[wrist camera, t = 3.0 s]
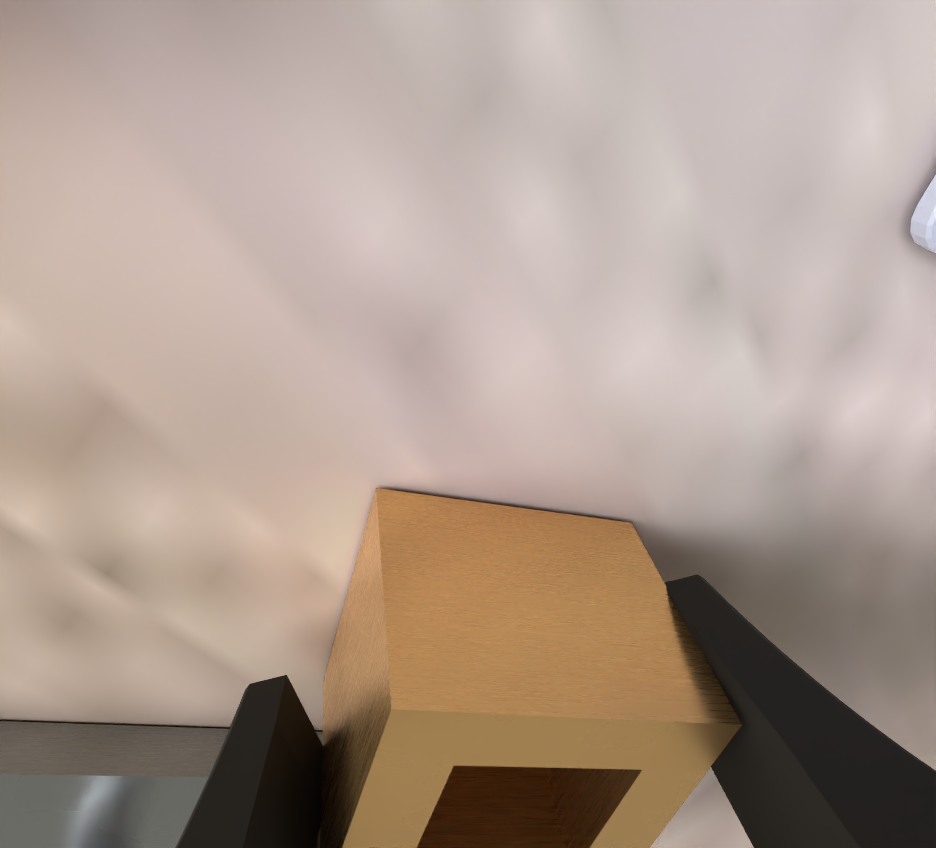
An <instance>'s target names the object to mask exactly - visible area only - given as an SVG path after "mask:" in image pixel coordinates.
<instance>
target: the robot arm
mask: <svg viewBox="0 0 936 848" xmlns="http://www.w3.org/2000/svg"><path fill="white" fill-rule="evenodd" d="M910 233H911V235H912V238H913V240H914V242H915V243H916V244H918V245H919V246H921V247H922V248H924V249H926V250H929V251H931V252H933V253H936V175H935V176H934V178H933V180H932V181H931V183H930V185H929V186H928V188H927V190H926V191H925V193H924V195H923V196H922V198H921V200H920V201H919V203H918V205H917V207H916V209H915V212H914V214H913V216H912V219H911V230H910ZM665 585H666V587H667V588H666V590H667V592H668V594H669V595H670V597H671V599H672V601H673V603H674V605H675V606H676V608H677V610H678V612H679V614H680V616H681V617H682V619H683V621H684V623H685V625H686V627H687V628H688V630H689V632H690V633H691V635H692V636H693V638H694V640H695V641H696V643H697V644H698V646H699V647H700V649H701V651H702V653H703V655H704V656H705V658H706V660H707V662H708V664H709V666H710V667H711V669H712V671H713V673H714V675H715V677H716V678H717V680H718V682H719V684H720V686H721V688H722V689H723V691H724V693H725V695H726V697H727V698H728V700H729V702H730V704H731V706H732V708H733V709H734V711H735V713H736V715H737V717H738V719H739V720H740V722H741V724H742V726H741V727H740V728H739V730H738V731H737V732H736V734H735V735H734V736H733V738H732V739H731V740H730V742H729V743H728V744H727V746H726V747H725V748H724V750H723V751H722V752H721V754H720V755H719V756H718V757H717V759H716V760H715V761H714V763H713V764H712V765H711V768H712V770H713V771H714V773H715V775H716V777H717V779H718V781H719V783H720V785H721V787H722V788H723V790H724V792H725V794H726V796H727V798H728V800H729V802H730V803H731V805H732V807H733V809H734V811H735V813H736V815H737V817H738V818H739V820H740V822H741V824H742V826H743V828H744V830H745V832H746V833H747V835H748V837H749V839H750V841H751V843H752V845H753V847H754V848H936V771H935V770H934V769H932V768H931V767H930V766H928V765H927V764H925V763H924V762H922V761H921V760H919V759H918V758H917V757H915V756H914V755H912V754H911V753H909V752H908V751H907V750H905V749H904V748H902V747H901V746H900V745H898V744H897V743H896V742H894V741H893V740H891V739H890V738H889V737H887V736H886V735H885V734H883V733H882V732H881V731H879V730H878V729H877V728H875V727H874V726H873V725H871V724H870V723H869V722H867V721H866V720H865V719H864V718H862V717H861V716H860V715H858V714H857V713H856V712H855V711H853V710H852V709H851V708H849V707H848V706H847V705H845V704H844V703H843V702H842V701H840V700H839V699H838V698H837V697H835V696H834V695H833V694H832V693H830V692H829V691H828V690H827V689H826V688H824V687H823V686H822V685H821V684H819V683H818V682H817V681H816V680H815V679H813V678H812V677H811V676H810V675H809V674H808V673H806V672H805V671H804V670H803V669H802V668H800V667H799V666H798V665H797V664H796V663H795V662H793V661H792V660H791V659H790V658H789V657H788V656H786V655H785V654H784V653H783V652H782V651H781V650H779V649H778V648H777V647H776V646H775V645H774V644H773V643H771V642H770V641H769V640H768V639H767V638H766V637H765V636H764V635H763V634H762V633H760V632H759V631H758V630H757V629H756V628H755V627H754V626H753V625H752V624H751V623H749V622H748V621H747V620H746V619H745V618H744V617H743V616H742V615H741V614H740V613H739V612H738V611H737V610H736V609H735V608H733V607H732V606H731V605H730V604H729V603H728V602H727V601H726V600H725V599H724V598H723V597H722V596H721V595H720V594H719V593H718V592H717V591H716V590H715V589H714V588H713V587H712V586H711V585H710V584H709V583H708V582H707V581H706V580H705V579H704V578H702V577H701V576H699V575H694V576H690V577H686V578H682V579H678V580H674V581H670V582H665ZM322 765H323V745H322V743H321V741H320V739H319V737H318V735H317V733H316V731H315V729H314V727H313V725H312V723H311V722H310V720H309V718H308V716H307V714H306V712H305V710H304V708H303V706H302V704H301V702H300V700H299V698H298V696H297V694H296V692H295V690H294V688H293V686H292V684H291V682H290V680H289V678H288V677H287V675H285V676H280V677H276V678H272V679H268V680H264V681H260V682H256V683H252V684H249V686H248V687H247V688H246V690H245V692H244V694H243V697H242V699H241V702H240V704H239V707H238V709H237V712H236V714H235V717H234V719H233V721H232V724H231V726H230V729H229V731H228V734H227V736H226V738H225V741H224V743H223V745H222V748H221V750H220V752H219V755H218V757H217V759H216V761H215V764H214V766H213V768H212V771H211V773H210V775H209V777H208V780H207V782H206V784H205V786H204V788H203V790H202V793H201V795H200V797H199V799H198V801H197V803H196V805H195V808H194V810H193V812H192V814H191V816H190V818H189V820H188V823H187V825H186V827H185V829H184V831H183V833H182V835H181V837H180V839H179V841H178V843H177V845H176V847H175V848H320V823H321V805H322Z"/></svg>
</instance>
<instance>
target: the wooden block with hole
mask: <svg viewBox="0 0 936 848" xmlns="http://www.w3.org/2000/svg"><path fill="white" fill-rule="evenodd" d="M666 588H667V587H666V585H665V583H664V581H663V580H662V578H661V576H660V574H659V572H658V571H657V569H656V567H655V565H654V563H653V561H652V560H651V558H650V556H649V554H648V552H647V550H646V549H645V547H644V545H643V543H642V541H641V539H640V538H639V536H638V534H637V532H636V530H635V528H634V527H633V525H632V523H629V522H621V521H614V520H607V519H599V518H592V517H585V516H577V515H570V514H562V513H555V512H548V511H540V510H533V509H526V508H518V507H511V506H503V505H496V504H489V503H481V502H474V501H467V500H459V499H452V498H445V497H437V496H430V495H422V494H415V493H408V492H400V491H393V490H386V489H378V488H376V490H375V494H374V497H373V501H372V505H371V508H370V512H369V516H368V519H367V523H366V527H365V530H364V534H363V538H362V541H361V545H360V549H359V552H358V556H357V560H356V563H355V567H354V571H353V574H352V578H351V582H350V585H349V589H348V593H347V596H346V600H345V604H344V607H343V611H342V615H341V618H340V622H339V626H338V629H337V633H336V637H335V640H334V644H333V648H332V651H331V655H330V659H329V662H328V666H327V670H326V673H325V677H324V701H323V741H322V745H323V765H322V805H321V823H320V848H650V846H651V845H652V844H653V842H654V841H655V840H656V838H657V837H658V836H659V834H660V833H661V832H662V830H663V829H664V828H665V826H666V825H667V824H668V823H669V821H670V820H671V819H672V817H673V816H674V815H675V813H676V812H677V811H678V809H679V808H680V807H681V805H682V804H683V803H684V801H685V800H686V799H687V797H688V796H689V795H690V793H691V792H692V791H693V789H694V788H695V787H696V785H697V784H698V783H699V781H700V780H701V779H702V777H703V776H704V775H705V773H706V772H707V771H708V769H709V768H710V767H711V765H712V764H713V763H714V761H715V760H716V759H717V757H718V756H719V755H720V754H721V752H722V751H723V750H724V748H725V747H726V746H727V744H728V743H729V742H730V740H731V739H732V738H733V736H734V735H735V734H736V732H737V731H738V730H739V728H740V727H741V726H742V724H741V722H740V720H739V719H738V717H737V715H736V713H735V711H734V709H733V708H732V706H731V704H730V702H729V700H728V698H727V697H726V695H725V693H724V691H723V689H722V688H721V686H720V684H719V682H718V680H717V678H716V677H715V675H714V673H713V671H712V669H711V667H710V666H709V664H708V662H707V660H706V658H705V656H704V655H703V653H702V651H701V649H700V647H699V646H698V644H697V643H696V641H695V640H694V638H693V636H692V635H691V633H690V632H689V630H688V628H687V627H686V625H685V623H684V621H683V619H682V617H681V616H680V614H679V612H678V610H677V608H676V606H675V605H674V603H673V601H672V599H671V597H670V595H669V594H668V592H667V590H666Z"/></svg>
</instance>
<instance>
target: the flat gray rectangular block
mask: <svg viewBox="0 0 936 848" xmlns="http://www.w3.org/2000/svg"><path fill="white" fill-rule="evenodd" d="M228 731H229V729H217V728H188V727H158V726H129V725H100V724H70V723H41V722H11V721H0V848H175V847H176V845H177V843H178V841H179V839H180V837H181V835H182V833H183V831H184V829H185V827H186V825H187V823H188V820H189V818H190V816H191V814H192V812H193V810H194V808H195V805H196V803H197V801H198V799H199V797H200V795H201V793H202V790H203V788H204V786H205V784H206V782H207V780H208V777H209V775H210V773H211V771H212V768H213V766H214V764H215V761H216V759H217V757H218V755H219V752H220V750H221V748H222V745H223V743H224V741H225V738H226V736H227V734H228ZM316 733H317V735H318V737H319V739H320V741H321V743H322V741H323V732H316Z"/></svg>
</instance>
